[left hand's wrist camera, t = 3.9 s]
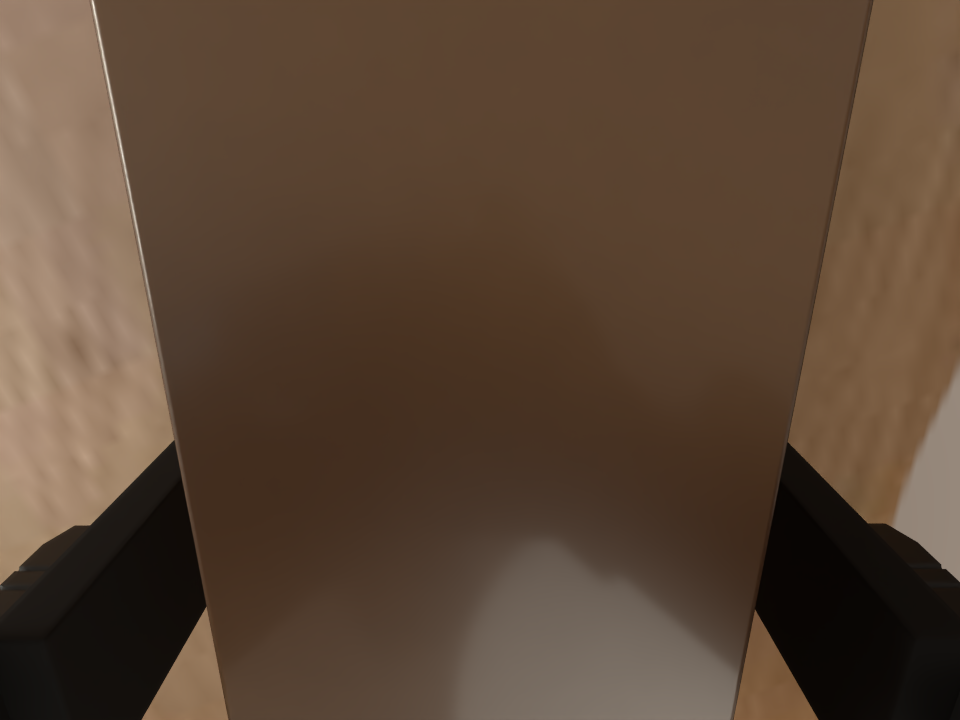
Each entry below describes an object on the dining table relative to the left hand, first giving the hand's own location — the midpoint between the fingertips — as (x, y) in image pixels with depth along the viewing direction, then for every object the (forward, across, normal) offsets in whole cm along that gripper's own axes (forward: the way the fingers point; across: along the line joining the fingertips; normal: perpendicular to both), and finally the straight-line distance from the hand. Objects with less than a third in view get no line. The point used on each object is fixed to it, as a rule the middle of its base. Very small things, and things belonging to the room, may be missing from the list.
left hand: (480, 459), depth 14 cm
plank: (+2, 0, -16) cm, 16 cm away
